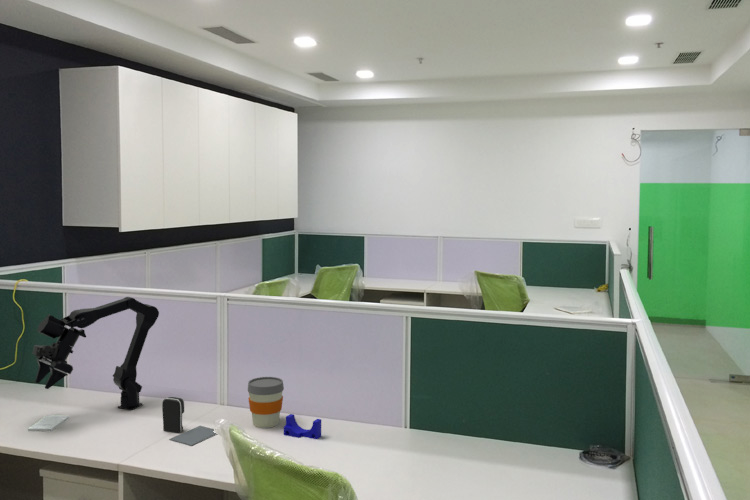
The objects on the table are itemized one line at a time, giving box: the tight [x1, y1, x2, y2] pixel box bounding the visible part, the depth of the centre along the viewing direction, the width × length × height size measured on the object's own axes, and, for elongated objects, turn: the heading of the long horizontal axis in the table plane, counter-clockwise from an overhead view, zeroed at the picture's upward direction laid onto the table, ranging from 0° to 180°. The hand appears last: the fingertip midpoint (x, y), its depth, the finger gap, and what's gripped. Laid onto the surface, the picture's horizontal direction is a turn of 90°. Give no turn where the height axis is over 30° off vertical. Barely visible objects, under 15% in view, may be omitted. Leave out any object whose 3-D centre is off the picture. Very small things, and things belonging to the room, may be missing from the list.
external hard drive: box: [27, 414, 70, 432], centre depth 230 cm, size 2×8×12 cm
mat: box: [168, 425, 217, 447], centre depth 221 cm, size 10×14×1 cm
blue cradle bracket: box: [283, 413, 322, 440], centre depth 222 cm, size 12×4×6 cm, turn 66°
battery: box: [161, 396, 185, 433], centre depth 225 cm, size 7×4×11 cm, turn 72°
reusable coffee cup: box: [247, 376, 284, 429], centre depth 233 cm, size 13×13×15 cm
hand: (41, 385), depth 226 cm, fingers open, 9 cm apart
